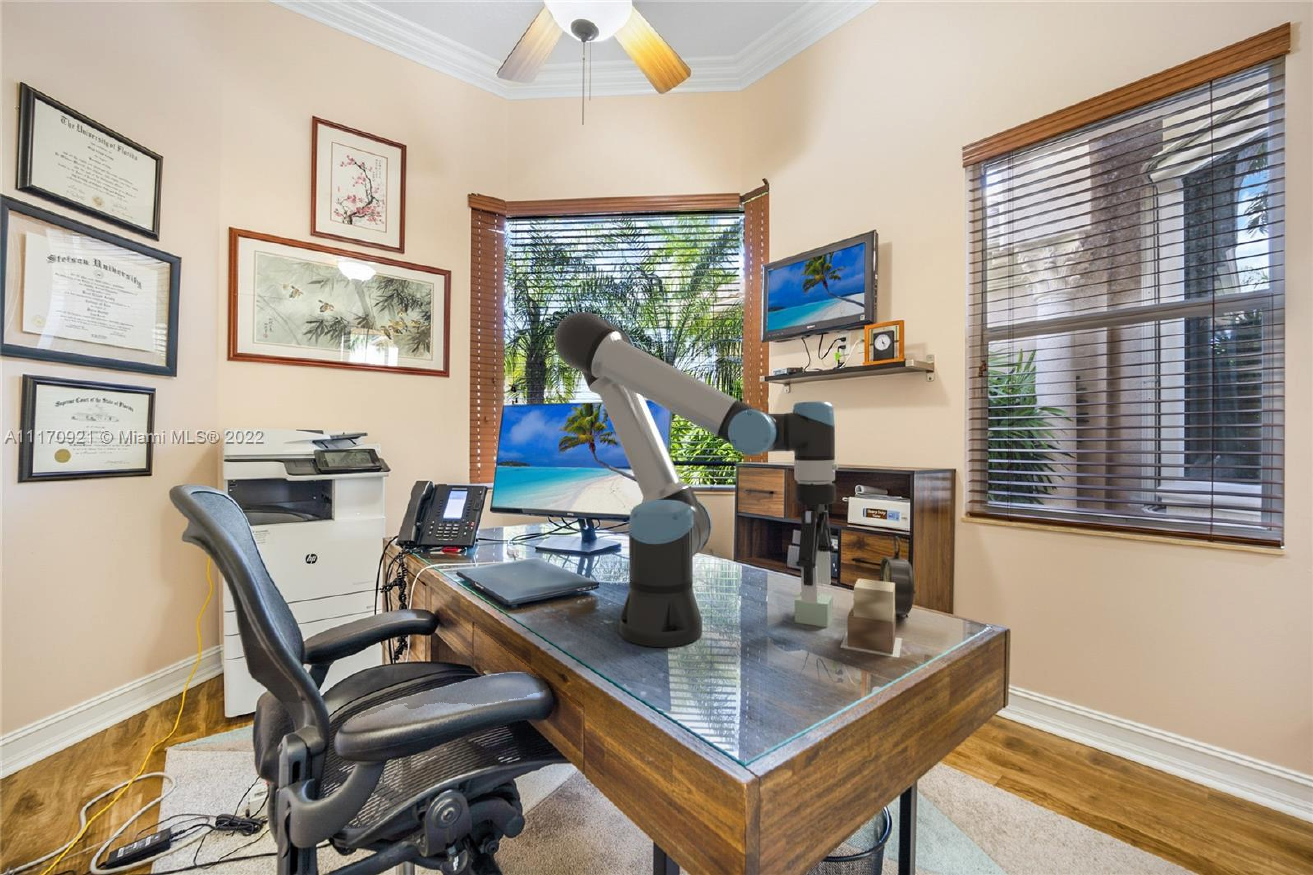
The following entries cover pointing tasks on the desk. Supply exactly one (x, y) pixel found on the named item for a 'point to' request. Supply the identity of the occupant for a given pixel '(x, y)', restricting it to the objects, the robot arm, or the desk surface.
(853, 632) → the walnut brick
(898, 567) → the alarm clock
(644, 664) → the desk surface
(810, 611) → the sage brick
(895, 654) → the mat
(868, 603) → the maple brick
